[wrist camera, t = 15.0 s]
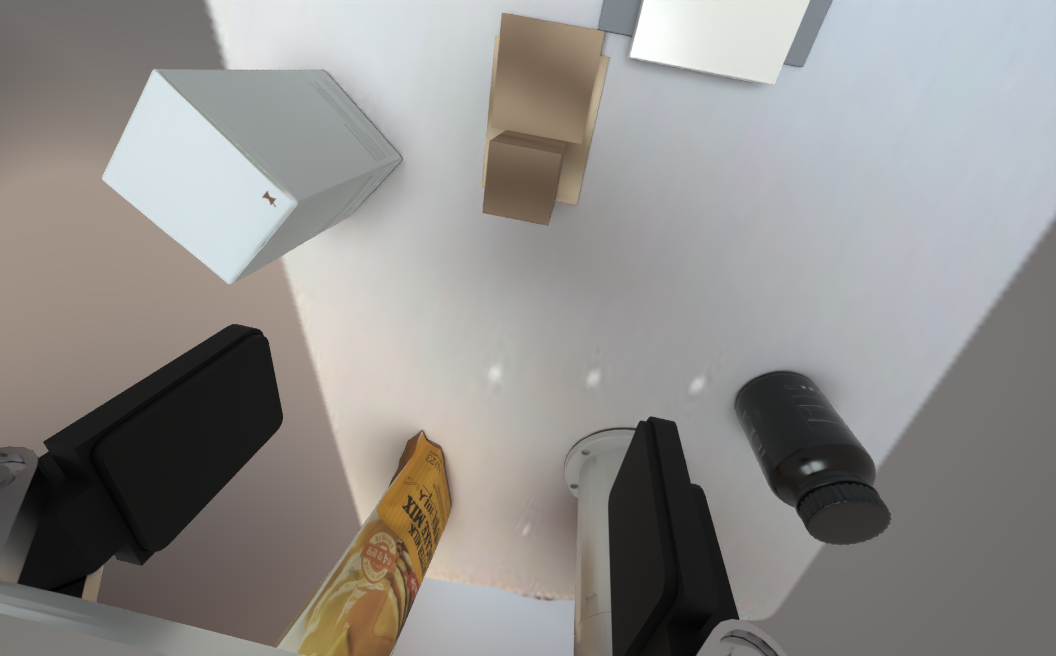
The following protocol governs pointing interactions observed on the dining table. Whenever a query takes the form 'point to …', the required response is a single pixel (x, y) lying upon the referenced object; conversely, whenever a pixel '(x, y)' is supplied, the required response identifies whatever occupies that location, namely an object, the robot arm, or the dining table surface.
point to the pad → (573, 151)
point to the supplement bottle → (812, 458)
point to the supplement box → (246, 161)
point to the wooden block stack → (537, 112)
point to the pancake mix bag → (378, 565)
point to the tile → (718, 36)
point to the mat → (624, 11)
